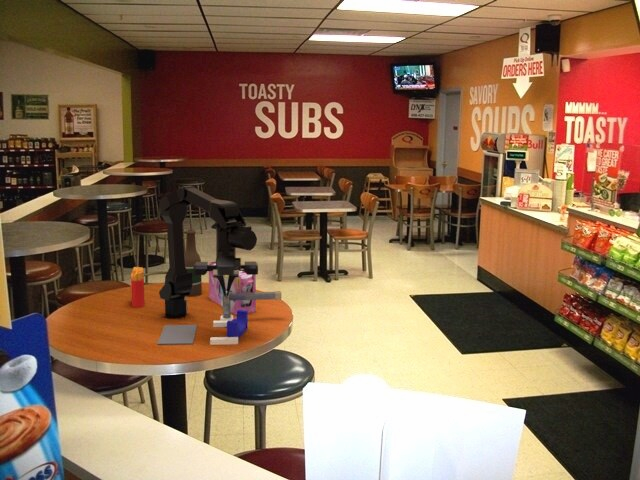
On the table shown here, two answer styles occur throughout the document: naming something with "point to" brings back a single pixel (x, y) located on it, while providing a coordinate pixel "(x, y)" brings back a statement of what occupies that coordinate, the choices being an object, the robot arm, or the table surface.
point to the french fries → (137, 287)
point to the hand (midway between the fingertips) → (226, 296)
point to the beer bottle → (192, 262)
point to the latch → (246, 296)
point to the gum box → (233, 290)
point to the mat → (177, 335)
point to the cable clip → (238, 324)
